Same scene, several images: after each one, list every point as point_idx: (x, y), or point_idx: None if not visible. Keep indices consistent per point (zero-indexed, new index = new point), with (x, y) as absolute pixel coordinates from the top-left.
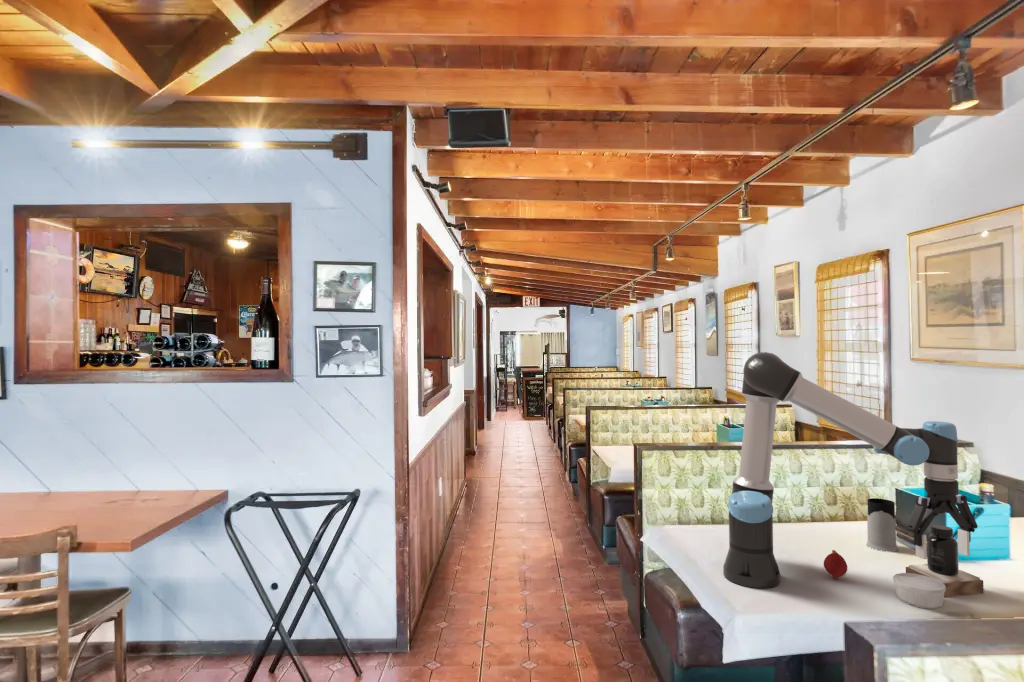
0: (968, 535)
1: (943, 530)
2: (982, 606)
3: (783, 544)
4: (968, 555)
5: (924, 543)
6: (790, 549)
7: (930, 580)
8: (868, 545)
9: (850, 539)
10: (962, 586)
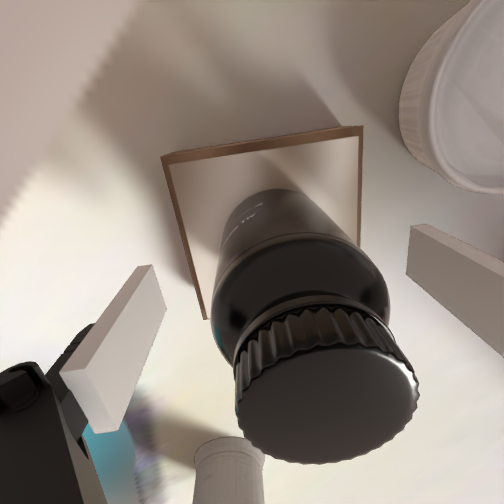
0: (85, 347)
1: (384, 345)
2: (269, 25)
3: (458, 465)
4: (144, 266)
5: (500, 263)
6: (470, 443)
7: (461, 103)
8: (263, 463)
9: (272, 491)
10: (267, 139)
